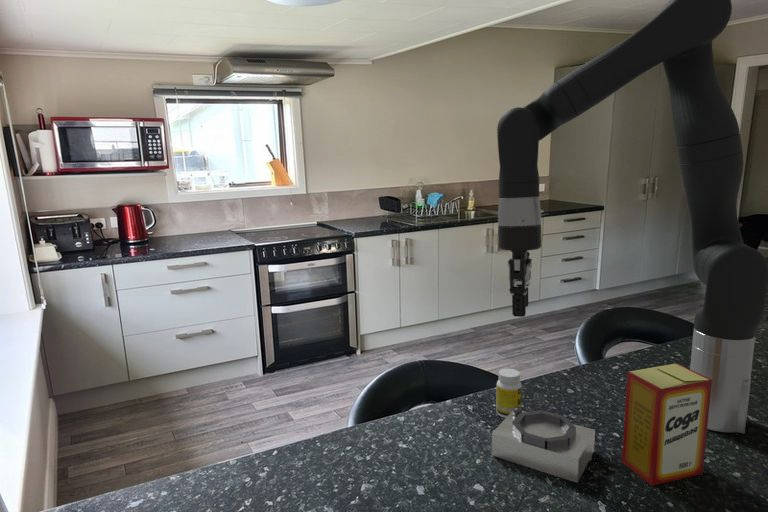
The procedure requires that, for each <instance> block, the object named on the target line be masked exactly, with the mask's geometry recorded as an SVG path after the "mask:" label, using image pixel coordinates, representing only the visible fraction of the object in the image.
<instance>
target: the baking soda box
mask: <svg viewBox="0 0 768 512" xmlns="http://www.w3.org/2000/svg"><path fill="white" fill-rule="evenodd" d="M711 385H712V380H711V379H709V378H707V377H705V376H703V375H701V374H699V373H697V372H694V371H692V370H690V368H688V367H686V366H683V365H682V364H680V363H670V364H666V365H659V366H658V365H657V366H653V367H649V368H648V367H647V368H642V369H641V368H640V369H636V370H630V371H629V370H628V371H627V377H626V392H625V405H624V406H625V407H624V422H623V439H622V453H621V455H622V457H621V463H623V464H624V465H625V466H626V467H628V468H629V469H630V470H631V471H633V472H634V473H635V474H637V476H639V477H641V478H642V479H643V480H645V482H647V483H648V484H649V485H651V486H652V487H654V486H657V485H661V484H666V483H669V482H674V481H678V480H681V479H682V480H683V479H686V478H687V479H688V478H690V477H694V476H695V477H696V476H698V475H704V465H705V454H706V444H707V433H708V429H707V426H708V415H709V405H710V395H711Z"/></svg>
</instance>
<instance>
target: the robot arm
mask: <svg viewBox="0 0 768 512" xmlns="http://www.w3.org/2000/svg"><path fill="white" fill-rule="evenodd" d="M732 7H733V6H732V0H668V2H666V3H665V4H664V5H663V6H662V7H661V9H660V10H659V12H658V14H657V15H656V16H655V17H654V18H652V19H651V20H650V21H649V22H647V23H646V24H645V25H643V26H642V27H641V28H640V29H638V30H637V31H635V32H634V33H632V34H631V35H630V36H628V37H627V38H625V39H624V40H622V41H620V42H619V43H617V44H616V45H614V46H612V47H611V48H609V49H607V50H605V51H604V52H602V53H601V54H598V55H597V56H595V57H594V58H591V59H590V60H589V61H587V62H585V63H583V64H582V65H580V66H579V67H577V68H575V69H573V70H572V71H570V72H569V73H567V74H566V75H564V76H563V77H562V78H560V79H558V80H556V81H555V82H553V83H552V84H550V86H548V87H547V88H546V89H545V90H543V92H542V93H541V94H540V95H539V96H538V97H537V98H535V99H534V100H532V101H531V102H529V103H527V104H526V105H524V106H523V107H522V106H521V107H518V106H517V107H514V108H513V107H512V108H510V109H508V110H507V111H505V112H504V113H503V114H502V116H501V117H500V118H499V121H498V123H497V128H496V130H497V131H496V134H497V135H496V137H497V150H498V151H497V152H498V161H499V175H498V207H497V225H498V226H497V227H498V228H497V230H498V231H497V232H498V233H497V235H498V237H497V238H498V249H500V250H502V251H510V252H511V253H512V255H511V258H509V260H508V261H507V268H508V282H509V293H510V294H511V299H512V300H511V301H512V302H511V303H512V304H511V305H512V306H511V307H512V308H511V309H512V314H511V315H512V316H513V317H521V318H524V317H525V316H526V313H527V312H526V311H527V309H526V308H527V307H528V306H529V287H530V285H531V284H530V281H531V278H532V267H533V265H532V264H533V260H532V258H530V252H529V251H536V250H539V249H541V248H542V209H541V208H542V207H541V201H540V174H539V167H538V159H539V142H540V141H541V140H543V139H544V138H545V137H546V138H547V136H548V135H550V134H552V133H553V132H554V131H556V130H557V129H558V128H560V127H561V126H563V125H564V124H566V123H569V122H571V121H572V120H574V119H576V118H577V117H579V116H580V115H582V114H584V113H586V112H587V111H589V110H590V109H592V108H593V107H595V106H596V105H598V104H600V103H601V102H603V101H604V100H605V99H607V98H608V97H610V96H611V95H613V94H614V93H616V92H617V91H618V90H620V89H621V88H623V87H625V86H626V85H627V84H628V83H631V82H632V81H633V80H635V79H637V77H639V76H640V75H641V76H642V75H643V74H644V73H646V72H648V71H649V70H651V69H652V68H654V67H657V66H658V65H659V64H661V63H662V67H663V70H664V73H665V76H666V80H667V83H668V90H669V98H670V108H671V117H672V121H673V122H672V123H673V128H674V135H675V136H674V137H675V144H676V145H675V146H676V150H677V151H676V152H677V157H678V165H679V168H680V172H681V177H682V181H683V188H684V194H685V198H686V203H687V207H688V210H689V216H690V222H691V223H690V224H691V239H692V240H691V241H692V242H691V243H692V244H691V245H692V263H693V265H692V266H693V270H694V273H695V275H696V277H697V278H698V280H699V281H700V282H701V283H702V284H703V285H704V286H705V294H704V300H703V306H702V309H700V310H698V311H697V312H696V313H695V315H694V323H693V332H692V334H693V335H692V343H691V356H690V367H689V369H690V370H692V371H694V372H697V373H699V374H701V375H703V376H705V377H707V378H709V379H711V380H712V385H711V395H710V405H709V415H708V426H707V430H710V431H714V432H720V433H738V434H739V433H740V434H746V433H745V432H746V424H747V417H748V410H749V409H748V406H749V399H750V392H751V391H750V390H751V382H752V381H751V377H752V366H753V359H754V358H753V357H754V351H755V350H754V349H755V341H756V334H757V333H756V332H757V328H758V326H759V325H760V324H761V322H762V320H763V316H764V313H765V307H766V301H767V294H768V260H767V259H766V257H765V256H764V255H763V253H761V251H759V250H757V249H756V248H753V247H751V246H749V245H747V244H745V242H744V239H743V237H742V232H741V228H740V224H739V217H738V211H737V210H738V209H737V206H738V205H737V204H738V197H739V192H740V187H741V182H742V176H743V172H744V153H743V152H744V151H743V145H742V140H741V139H742V138H741V133H740V132H741V131H740V127H739V126H740V125H739V122H738V120H737V117H736V115H735V112H734V110H733V108H732V105H731V104H730V102H729V100H728V98H727V96H726V95H725V93H724V91H723V89H722V87H721V85H720V83H719V80H718V76H717V74H716V69H715V63H714V62H715V61H714V52H713V41H714V40H716V38H717V37H718V36H719V35H721V33H723V31H725V29H726V27H727V26H728V24H729V22H730V19H731V16H732V10H733V8H732Z"/></svg>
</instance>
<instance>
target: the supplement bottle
mask: <svg viewBox="0 0 768 512" xmlns="http://www.w3.org/2000/svg"><path fill="white" fill-rule="evenodd" d="M522 393H523V384H522V383H521V372H520V371H518V370H517V369H513V368H503V369H501V370H499V371H498V380H497V381H496V400H495V401H496V404H495V405H496V406H495V412H496V414H497V415H498V416H500V417H501V418H503V419H505V418H506V417H507V416H508V415H509V414H510V413H511V412H512V411H513V407H521V408H522Z"/></svg>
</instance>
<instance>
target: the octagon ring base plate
mask: <svg viewBox="0 0 768 512" xmlns="http://www.w3.org/2000/svg"><path fill="white" fill-rule="evenodd" d="M595 438H596V429H592V428H590V427H585V426H582V425H578V424H574V423H572V422H571V421H570V419H568V418H567V417H566V416H564V415H563V414H559V413H553V412H550V411H545V410H541V409H540V410H533V411H524V410H523V407H522V406H521V407H513V411H512V412H511V413H510V414H509V415H508V416H507V417H506V418H504V419H503V420H502V422H501V423H499V425H498V426H497V427H496V428H495V429H494V430H493V432H491V456H493V457H496V458H499V459H502V460H504V461H508V462H511V463H515V464H517V465H520V466H523V467H527V468H529V467H530V469H532V470H536V471H539V472H543V473H545V474H548V475H551V476H554V477H557V478H561V479H564V480H566V481H567V480H568V481H570V482H573V483H576V484H578V483H579V481H580V479H581V477H582V476H583V474H584V471H585V470H586V468H587V466H588V464H589V462H590V460H591V458H592V456H593V454H594V452H595Z"/></svg>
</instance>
